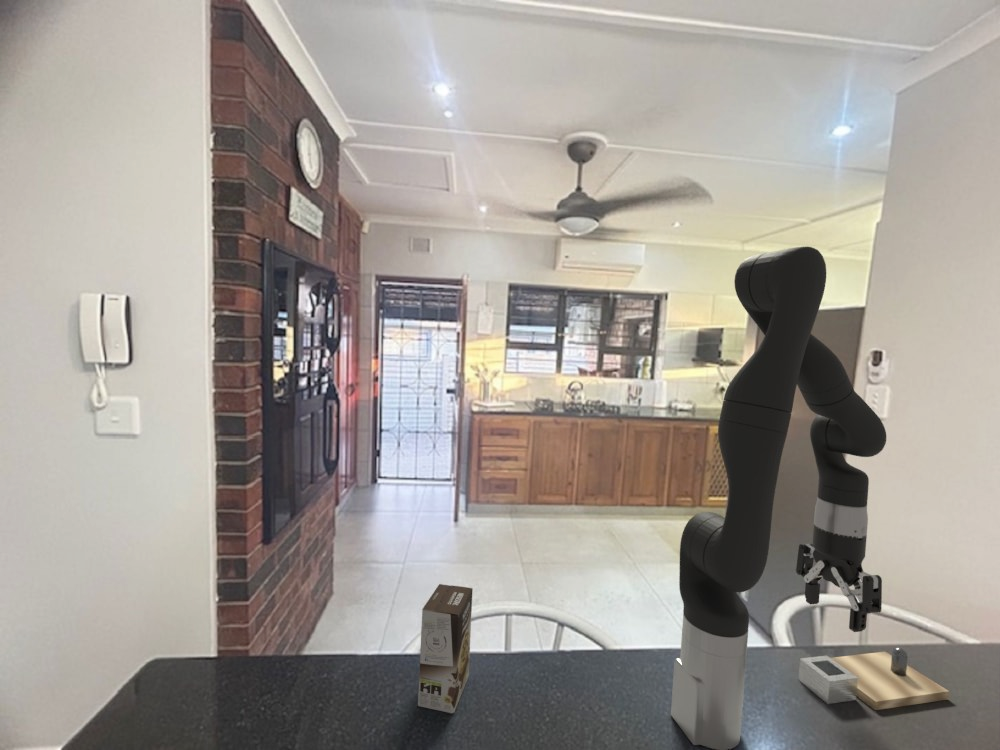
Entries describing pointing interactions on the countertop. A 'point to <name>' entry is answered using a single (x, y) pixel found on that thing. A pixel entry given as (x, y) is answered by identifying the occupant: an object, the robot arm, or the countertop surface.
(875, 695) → the plate
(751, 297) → the robot arm
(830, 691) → the steel link
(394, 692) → the countertop surface
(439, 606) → the coffee box
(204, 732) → the countertop surface
